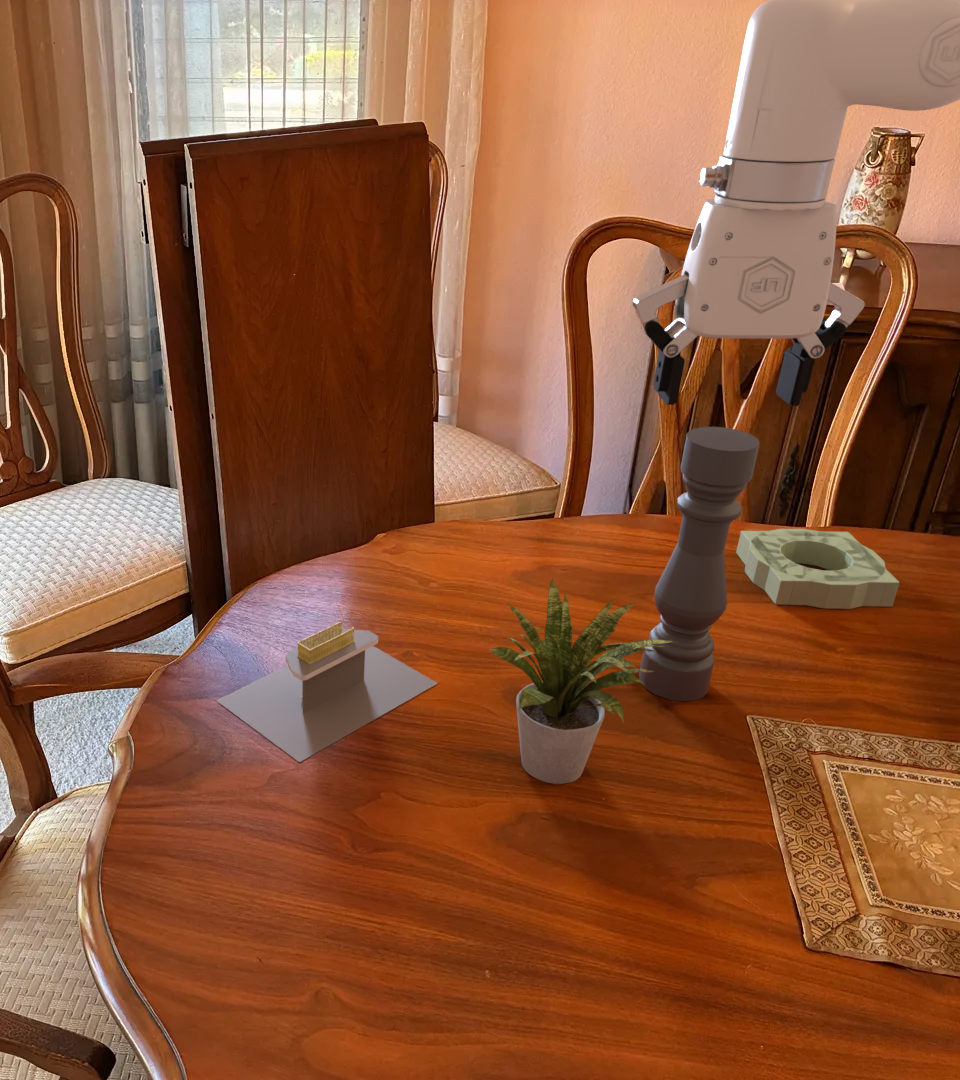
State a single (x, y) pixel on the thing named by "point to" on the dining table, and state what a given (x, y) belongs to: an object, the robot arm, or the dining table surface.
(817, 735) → the dining table surface
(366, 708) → the platform
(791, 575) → the base pad
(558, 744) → the house plant
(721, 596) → the grey baluster
